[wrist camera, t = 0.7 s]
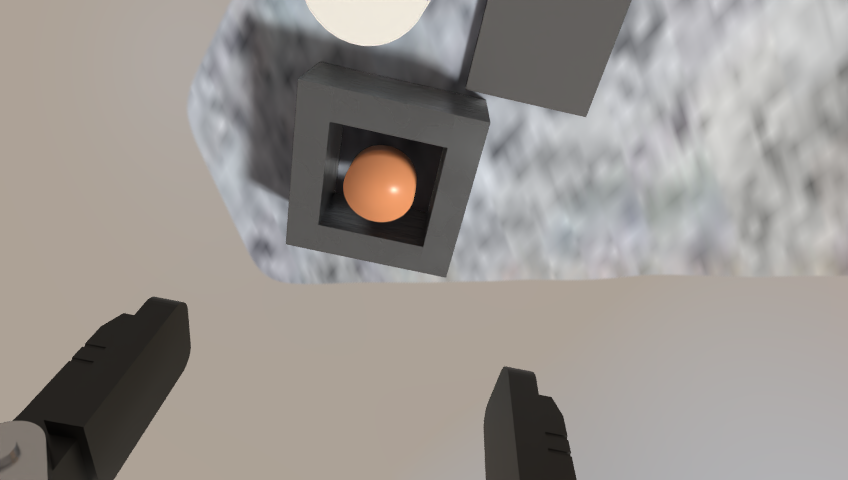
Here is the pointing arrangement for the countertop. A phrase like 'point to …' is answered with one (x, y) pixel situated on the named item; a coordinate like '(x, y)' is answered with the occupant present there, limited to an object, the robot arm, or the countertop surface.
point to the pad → (545, 51)
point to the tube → (367, 18)
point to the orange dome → (380, 183)
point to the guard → (393, 115)
